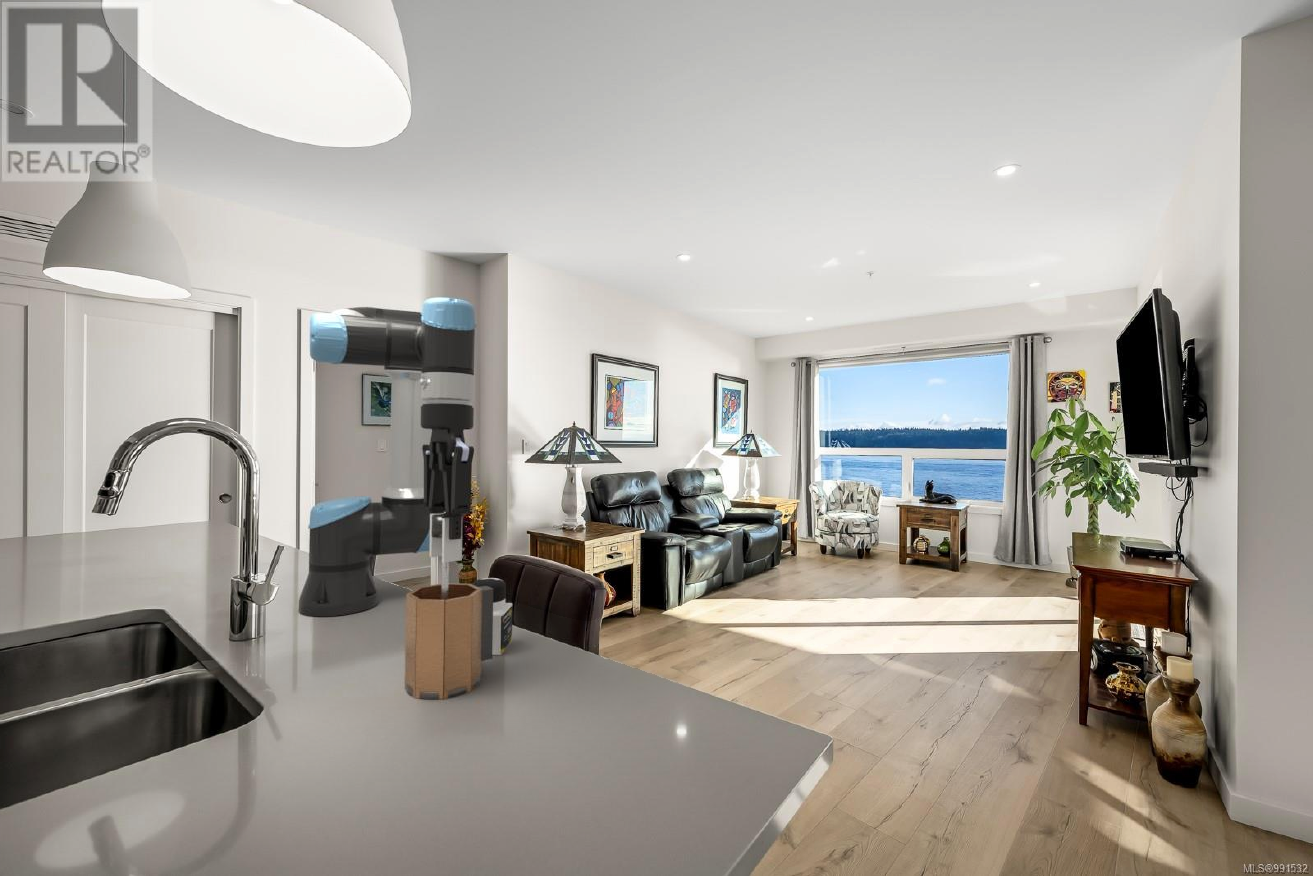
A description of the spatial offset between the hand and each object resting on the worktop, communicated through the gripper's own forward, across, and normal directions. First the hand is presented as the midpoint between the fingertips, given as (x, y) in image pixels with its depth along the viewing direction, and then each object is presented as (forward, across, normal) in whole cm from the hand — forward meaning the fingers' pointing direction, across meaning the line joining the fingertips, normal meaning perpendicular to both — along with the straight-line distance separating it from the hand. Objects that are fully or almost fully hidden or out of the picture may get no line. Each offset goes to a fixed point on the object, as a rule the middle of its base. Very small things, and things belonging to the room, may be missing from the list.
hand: (445, 558), depth 89 cm
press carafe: (+19, 0, +1) cm, 19 cm away
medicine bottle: (+19, -10, +12) cm, 25 cm away
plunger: (+15, 0, 0) cm, 15 cm away
